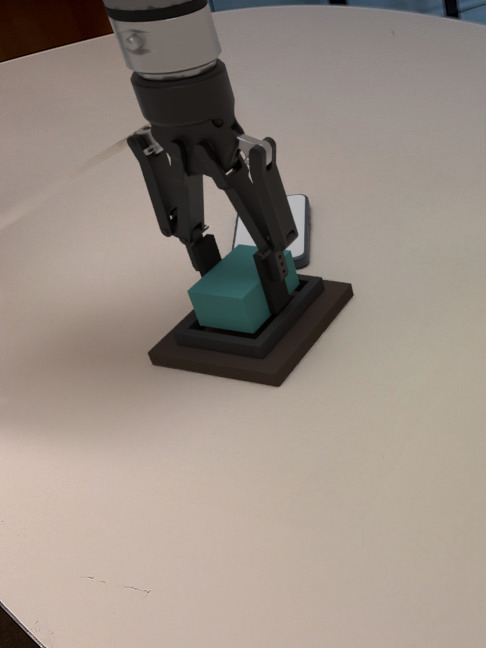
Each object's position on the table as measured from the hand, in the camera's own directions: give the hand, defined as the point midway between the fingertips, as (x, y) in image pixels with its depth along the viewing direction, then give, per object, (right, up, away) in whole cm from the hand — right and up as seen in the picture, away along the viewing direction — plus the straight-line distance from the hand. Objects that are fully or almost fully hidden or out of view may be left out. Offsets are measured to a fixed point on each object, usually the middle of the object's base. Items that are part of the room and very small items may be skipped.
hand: (250, 301), depth 81 cm
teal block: (0, 0, 0) cm, 0 cm away
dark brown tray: (0, -2, +2) cm, 3 cm away
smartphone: (-3, +9, +16) cm, 19 cm away
